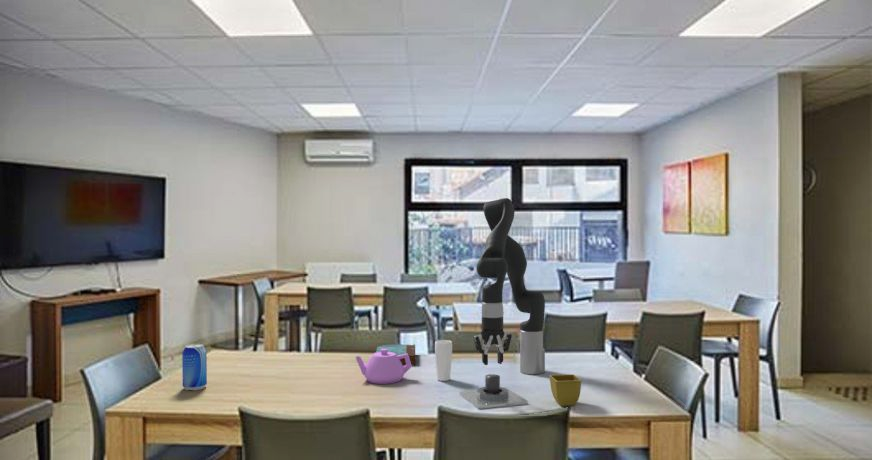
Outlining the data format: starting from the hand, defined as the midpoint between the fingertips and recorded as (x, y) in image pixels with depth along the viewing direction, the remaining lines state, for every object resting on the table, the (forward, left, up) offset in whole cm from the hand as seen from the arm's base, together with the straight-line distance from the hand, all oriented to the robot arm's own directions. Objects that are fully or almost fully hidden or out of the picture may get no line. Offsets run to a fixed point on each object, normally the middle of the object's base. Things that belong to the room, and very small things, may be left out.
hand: (492, 363), depth 211 cm
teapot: (+30, -38, -13) cm, 50 cm away
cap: (0, 0, -11) cm, 11 cm away
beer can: (+100, -49, -13) cm, 112 cm away
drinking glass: (+8, -30, -13) cm, 33 cm away
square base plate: (0, 0, -12) cm, 12 cm away
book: (+17, -70, -13) cm, 73 cm away
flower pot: (-21, +13, -13) cm, 28 cm away
